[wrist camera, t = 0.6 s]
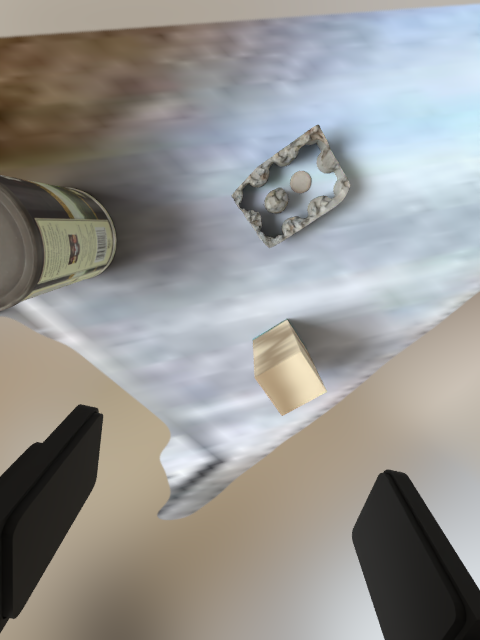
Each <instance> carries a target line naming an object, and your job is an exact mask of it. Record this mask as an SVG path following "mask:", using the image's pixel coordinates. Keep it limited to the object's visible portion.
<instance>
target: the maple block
mask: <svg viewBox="0 0 480 640" xmlns="http://www.w3.org/2000/svg"><path fill="white" fill-rule="evenodd" d="M253 354H254V373H255V379H256V380H257V382H258V383H259V384H260V386H261V387H262V389H263V390H264V391H265V393H266V394H267V396H268V397H269V398H270V400H271V401H272V403H273V404H274V405H275V407H276V408H277V410H278V411H279V412H280V414H281V415H282V416H283V415H285V414H287V413H289V412H290V411H292V410H294V409H296V408H298V407H300V406H302V405H303V404H305V403H307V402H309V401H311V400H313V399H315V398H316V397H318V396H320V395H322V394H324V393H326V392H327V391H326V389H325V387H324V385H323V383H322V380H321V378H320V376H319V374H318V372H317V370H316V368H315V366H314V364H313V362H312V360H311V357H310V355H309V353H308V351H307V349H306V348H305V346H304V345H303V343H302V342H301V340H300V339H299V337H298V335H297V334H296V332H295V331H294V329H293V328H292V326H291V324H290V323H289V321H288V320H287V319H286V320H284V321H283V322H281V323H279V324H278V325H276V326H274V327H273V328H271V329H269V330H268V331H266V332H264V333H263V334H261V335H259V336H258V337H256V338H254V339H253Z"/></svg>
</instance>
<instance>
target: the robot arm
mask: <svg viewBox="0 0 480 640" xmlns="http://www.w3.org/2000/svg"><path fill="white" fill-rule="evenodd" d="M102 423H103V414H100V413H99V411H98V408H95V407H90V406H85V405H81V404H80V405H78V406H77V407H76V408H75V409H74V410H73V411H72V412H71V413H70V414H69V415H68V416H67V417H66V419H65V420H64V421H63V422H62V423H61V424H60V425H59V426H58V427H57V428H56V429H55V430H54V431H53V432H52V433H51V435H50V436H49V437H48V438H47V439H46V440H45V441H44V442H43V443H39V442H36V443H34V444H32V445H31V446H30V447H29V448H28V449H27V450H26V451H25V452H24V453H23V454H22V455H21V456H20V457H19V458H18V459H17V460H16V461H15V462H14V463H13V464H12V465H11V466H10V467H9V468H8V469H7V470H6V471H5V472H4V473H3V474H2V475H1V477H0V633H1V631H2V630H3V627H4V626H5V625H6V623H7V621H8V620H9V618H13V619H15V618H16V617H17V616H18V615H19V614H20V612H21V611H22V609H23V608H24V606H25V604H26V602H27V601H28V599H29V597H30V596H31V594H32V592H33V590H34V589H35V587H36V585H37V583H38V582H39V580H40V578H41V577H42V575H43V573H44V572H45V570H46V568H47V566H48V565H49V563H50V561H51V560H52V558H53V556H54V554H55V553H56V551H57V549H58V548H59V546H60V544H61V543H62V541H63V539H64V537H65V536H66V534H67V532H68V530H69V529H70V527H71V525H72V524H73V522H74V520H75V518H76V517H77V515H78V513H79V512H80V510H81V508H82V507H83V505H84V503H85V501H86V500H87V498H88V496H89V495H90V493H91V491H92V489H93V487H94V485H95V482H96V478H97V470H98V460H99V451H100V441H101V432H102ZM352 540H353V544H354V547H355V550H356V553H357V556H358V559H359V562H360V565H361V568H362V571H363V575H364V578H365V581H366V584H367V587H368V590H369V593H370V596H371V599H372V602H373V605H374V608H375V611H376V614H377V617H378V620H379V624H380V627H381V630H382V633H383V636H384V639H385V640H480V590H479V588H478V587H477V585H476V584H475V582H474V580H473V579H472V577H471V576H470V574H469V572H468V571H467V569H466V568H465V566H464V564H463V563H462V561H461V560H460V558H459V557H458V555H457V553H456V552H455V550H454V549H453V547H452V545H451V544H450V542H449V541H448V539H447V538H446V536H445V534H444V533H443V531H442V529H441V528H440V526H439V525H438V523H437V522H436V520H435V518H434V517H433V515H432V514H431V512H430V510H429V509H428V507H427V506H426V504H425V502H424V501H423V499H422V498H421V496H420V494H419V493H418V491H417V490H416V488H415V487H414V485H413V483H412V482H411V480H410V479H409V477H408V476H407V475H406V474H405V473H402V472H397V471H393V470H385V471H384V472H383V473H380V474H379V475H378V477H377V480H376V482H375V484H374V486H373V488H372V490H371V492H370V494H369V496H368V498H367V501H366V503H365V505H364V507H363V509H362V511H361V513H360V515H359V517H358V519H357V522H356V524H355V526H354V528H353V532H352Z"/></svg>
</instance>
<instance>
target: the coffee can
mask: <svg viewBox="0 0 480 640" xmlns="http://www.w3.org/2000/svg"><path fill="white" fill-rule="evenodd" d="M115 250H116V232H115V228H114V225H113V222H112V220H111V218H110V216H109V214H108V213H107V211H106V210H105V208H104V207H103V206H102V205H101V204H100V203H99V202H98V201H97V200H96V199H95V198H93V197H92V196H90V195H89V194H87V193H85V192H83V191H81V190H78V189H74V188H67V187H60V186H53V185H48V184H43V183H38V182H33V181H27V180H22V179H17V178H13V177H8V176H3V175H0V311H1V310H4V309H7V308H10V307H12V306H14V305H16V304H18V303H20V302H21V301H24V300H27V299H30V298H33V297H35V296H38V295H41V294H44V293H47V292H50V291H53V290H56V289H58V288H61V287H64V286H67V285H70V284H73V283H75V282H78V281H81V280H84V279H89V278H93V277H95V276H97V275H99V274H100V273H102V272H103V271H104V270H105V269H106V268H107V267H108V266H109V264H110V263H111V261H112V259H113V257H114V254H115Z"/></svg>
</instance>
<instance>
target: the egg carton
mask: <svg viewBox="0 0 480 640" xmlns="http://www.w3.org/2000/svg"><path fill="white" fill-rule="evenodd" d="M313 144H317V145H318V147H319V148H320V150H321V153H320V154H319V155H318V157H317V167H318V169H319V170H320V171H321V172H323V173H331V172H334V173H335V175H336V177H337V181H336V183H335V185H334V188H333V192H334V197H333V198H332V199H331V198H329V197H327V196H320V197H317V198H315V199H313V200H312V201H310V203H309V204H308V209H307V211H308V217H307V218H304V219H302V218H299V217H298V216H295V217H292V218H289V219H287V220H285V221H284V223H283V225H282V233H283V235H278V236H277V237H276V238H273V237H270V236H265V234H264V233H263V232H261V231H260V230H261V228H262V220H261V215H260V214H259V212H255V211H253V210H249V211H246V210H245V209H244V208H243V209H241V208H240V206H239V205H240V203H241V202H242V199H243V191H242V190H243V188H244V187H245V186H246V185H248V184H250V185H251V186H252V187H257V188H259V187H261V186H263V185H264V184H265V183H266V182H267V181H268V177H269V168H270V167H271V165H272V164H273V163H275V164H276V165H278V166H280V167H284V166H287V165H289V164H290V163H291V162H292V160H293V159H295V158H296V157H297V155H298V152H299V149H300V148H301V147H302V146H304V145H313ZM290 186H291V189H292V190H293V191H294V192H296V193H304V192H306V191H307V190H308V189H309V188H310V186H311V177H310V175H309V174H308V173H306V172H305V171H298V172H296V173H295V174H294V175H293V176H292V177H291V181H290ZM349 188H350V183H349V181H348V179H347V177H346V175H345V174H344V172H343V170H342V168H341V166H340V164H339V162H338V161H337V159H336V158H335V156H334V154H333V152H332V151H331V149H330V146H329V144H328V142H327V139H326V138H325V136H324V134H323V132H322V130H321V128H320V126H319V125H316V126H314V127H313V128H311V129H310V130H308V131H307V132H306V133H304V134H303V135H302V136H300V137H299V138H297V139H296V140H294V141H293V142H292V143H290V144H289V145H288V146H286V147H285V148H283V149H282V150H281V151H279V152H278V153H276V154H275V155H274V156H272V157H271V158H270V159H268V160H267V161H265V162H264V163H262V164H261V165H260V166H258V167H257V168H256V169H255V170H254V171H253V172H252V173H251V174H250V175H249V176H248V178H247V179H246V180H245V181H244V182H243V183H242V184H241V185H240V186H239V187H238V188H237V190H236V191H235V192H234V193H233V194H232V197H233V199H234V201H235V203H236V204H237V206H238V207H239V209H240V210H242V212H243V213H244V215H245V217H246V219H247V220H248V221H249V222H250V224H251V225H252V227H253V228H254V230H255V231H256V232H257V235H258V236H259V238H260V239H261V240H262V241H263V242H264V243H265V244H266V245H267V246H268V247H269V248H271V247H273V246H275V245H277V244H279V243H281V242H282V241H284V240H285V239H287V238H288V237H290V236H291V235H293V234H295V233H296V232H298V231H299V230H301V229H303V228H304V227H306V226H307V225H309V224H310V223H311V222H313V221H315V220H316V219H318V218H319V217H320V216H322V215H324V214H325V213H327V212H328V211H330V210H331V209H333V208H334V207H335V206H337V205H338V204H339V203H340V202H342V201H343V199H344V198H345V196H346V194H347V192H348V190H349ZM288 200H289V199H288V195H287V193H286V192H285V190H284V189H282V188H277V189H275V190H272V191H271V192H269V193H268V195H267V196H266V199H265V208H266V209H267V211H269V212H270V213H274V214H277V213H281V212H282V211H284V210H285V208H286V206H287V204H288Z"/></svg>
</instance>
